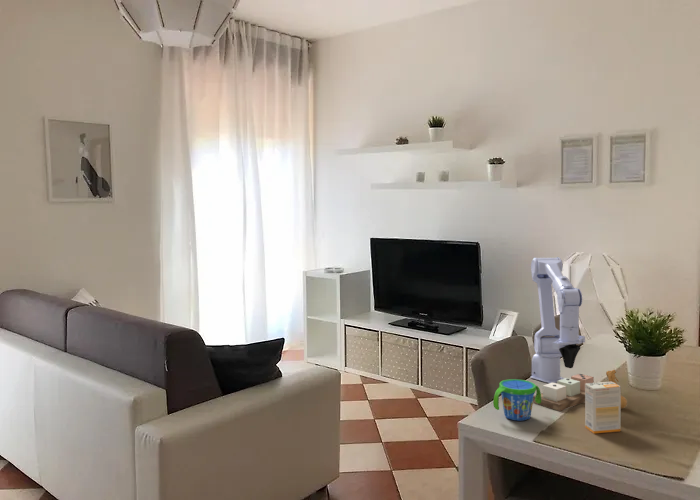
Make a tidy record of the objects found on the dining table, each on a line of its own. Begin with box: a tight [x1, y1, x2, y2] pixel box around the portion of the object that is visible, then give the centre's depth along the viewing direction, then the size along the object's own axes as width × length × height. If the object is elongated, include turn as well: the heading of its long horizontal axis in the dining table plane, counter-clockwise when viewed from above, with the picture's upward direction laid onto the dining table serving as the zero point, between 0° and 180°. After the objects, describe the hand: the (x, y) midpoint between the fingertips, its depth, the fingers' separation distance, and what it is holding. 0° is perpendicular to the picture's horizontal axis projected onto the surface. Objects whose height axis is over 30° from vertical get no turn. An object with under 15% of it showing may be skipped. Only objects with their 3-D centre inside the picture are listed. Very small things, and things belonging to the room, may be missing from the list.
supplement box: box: [584, 381, 622, 435], centre depth 163 cm, size 8×5×13 cm, turn 97°
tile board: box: [533, 391, 585, 412], centre depth 189 cm, size 24×10×2 cm, turn 125°
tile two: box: [557, 377, 580, 397], centre depth 189 cm, size 5×5×4 cm
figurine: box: [606, 369, 628, 410], centre depth 179 cm, size 8×6×12 cm
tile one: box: [542, 382, 566, 402], centre depth 184 cm, size 5×5×4 cm
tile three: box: [570, 373, 595, 392], centre depth 193 cm, size 5×5×4 cm
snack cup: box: [492, 378, 542, 422], centre depth 174 cm, size 16×10×10 cm
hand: (568, 367), depth 188 cm, fingers closed
